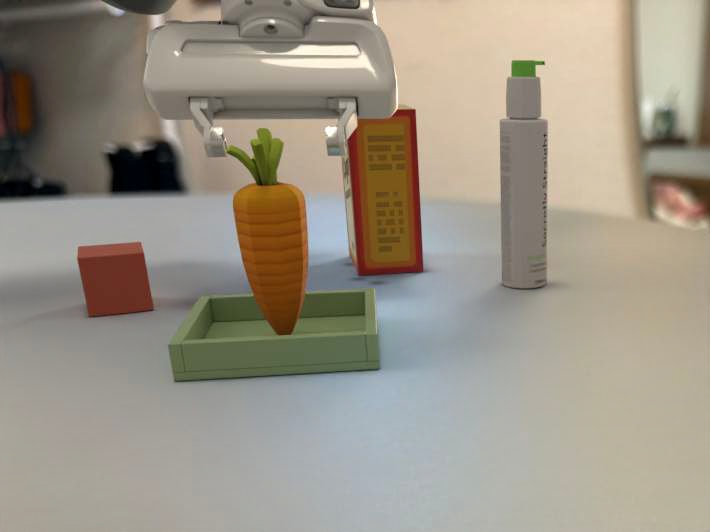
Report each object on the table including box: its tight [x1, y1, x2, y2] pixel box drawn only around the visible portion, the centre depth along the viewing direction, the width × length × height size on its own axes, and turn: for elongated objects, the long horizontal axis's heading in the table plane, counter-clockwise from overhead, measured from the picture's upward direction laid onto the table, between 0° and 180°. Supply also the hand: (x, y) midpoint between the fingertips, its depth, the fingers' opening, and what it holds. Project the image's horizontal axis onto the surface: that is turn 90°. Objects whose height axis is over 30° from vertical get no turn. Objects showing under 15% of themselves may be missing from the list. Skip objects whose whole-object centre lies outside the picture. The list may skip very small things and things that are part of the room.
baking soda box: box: [337, 103, 424, 276], centre depth 87 cm, size 10×6×16 cm
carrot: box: [226, 127, 310, 335], centre depth 61 cm, size 5×5×15 cm
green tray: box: [167, 288, 380, 382], centre depth 63 cm, size 14×13×3 cm
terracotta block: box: [76, 241, 155, 318], centre depth 73 cm, size 5×5×5 cm
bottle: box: [499, 59, 549, 290], centre depth 78 cm, size 4×4×20 cm
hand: (276, 151), depth 69 cm, fingers open, 8 cm apart
